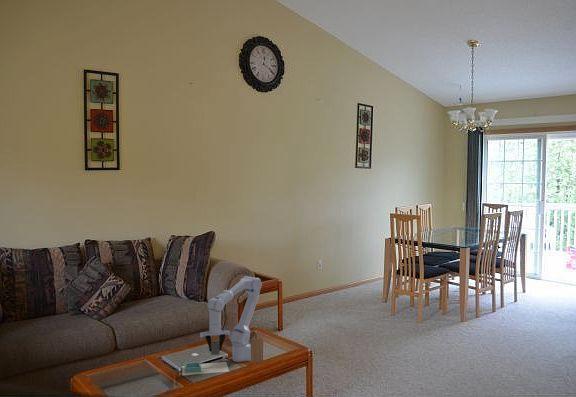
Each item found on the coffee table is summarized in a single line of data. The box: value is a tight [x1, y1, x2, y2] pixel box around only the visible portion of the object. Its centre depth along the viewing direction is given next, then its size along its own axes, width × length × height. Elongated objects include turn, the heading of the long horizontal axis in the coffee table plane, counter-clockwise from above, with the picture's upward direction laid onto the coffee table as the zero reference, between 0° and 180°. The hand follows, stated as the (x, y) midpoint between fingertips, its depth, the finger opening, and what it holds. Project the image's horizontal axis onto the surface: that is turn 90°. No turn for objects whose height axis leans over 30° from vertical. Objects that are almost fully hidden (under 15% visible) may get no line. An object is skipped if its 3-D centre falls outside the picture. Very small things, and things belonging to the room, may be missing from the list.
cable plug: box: [210, 339, 220, 356], centre depth 231 cm, size 4×4×6 cm
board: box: [181, 361, 230, 376], centre depth 230 cm, size 22×13×3 cm, turn 103°
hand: (215, 350), depth 231 cm, fingers closed on cable plug, 4 cm apart
